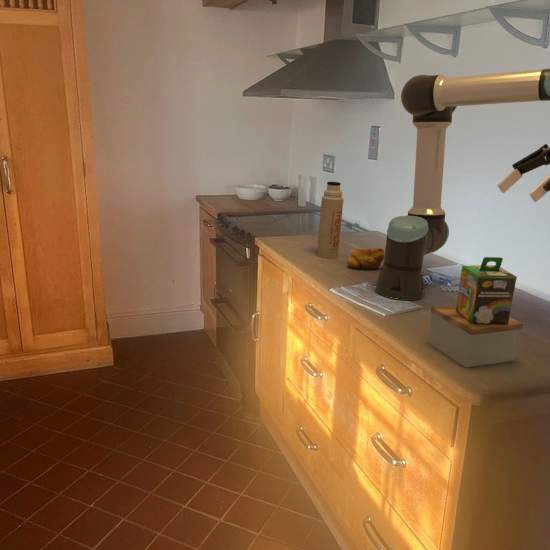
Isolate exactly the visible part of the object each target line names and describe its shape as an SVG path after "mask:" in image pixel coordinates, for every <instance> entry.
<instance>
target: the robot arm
mask: <svg viewBox="0 0 550 550" xmlns="http://www.w3.org/2000/svg"><path fill="white" fill-rule="evenodd" d="M400 101H401V105H402V106H403V108H404V110H405V111H406V112H407V113H409V114H410V115H411V116H412V125H413V126H414V128H416V148H415V167H414V182H413V203H412V207H410V208H409V209H408V211H407V215H403V216H402V215H399V216H396V217H395V216H394V217H393V218H392V219H391V220H390V221H389V223H388V227H387V230H386V242H385V247H384V248H385V250H384V260H383V267H382V269H381V270H380V272H379V274H378V277H377V280H376V281H375V284H374V291H375V292H376V293H377V294H378V295H380V294H381V295H380V296H382V295H383V297H385V296H387V297H386V298H388V297H392V298H398V299H404V300H403V301H417V300H420V299H423V298H424V297H425V289H426V288H425V282H424V278H423V273H422V272H423V271H422V269H423V263H424V257H425V256H426V255H428V254H431V253H435V252H437V251H438V250H440V249H441V248H442V247H444V246H445V244H446V243H447V241H448V239H449V235H450V228H449V225H448V223H447V222H446V211H445V210H444V209H443V208H442V194H443V193H442V192H443V179H444V162H445V149H446V134H447V129H448V128H449V127H450V126H451V125H452V123H453V113H454V112H455V111H456V109H457V107H464V106H465V107H466V106H479V105H481V106H482V105H483V106H484V105H496V104H499V105H500V104H512V103H527V102H528V103H529V102H541V101H542V102H549V101H550V68H546V69H544V68H541V69H532V70H531V69H530V70H521V71H518V70H517V71H507V72H499V73H488V74H487V73H486V74H479V75H478V74H475V75H467V76H465V75H464V76H455V77H446V76H445V75H444V74H436V75H435V74H434V75H433V74H431V75H430V74H429V75H427V74H418V75H415V76H412V77H411V78H409V80H407V82H405V84H404V86H403V87H402V90H401V93H400ZM549 165H550V146H549V145H548V144H547V143H545V144H543V145H542V146H541V147H539V148H538V149H536V150H535V151H533V152H531V153H530V154H528V155H526V156H525V157H523V158H521V159H520V160H518V161H516V162H515V163H513V164H512V165H511V167H512V168H513V169H514V170H512V171H511V173H509V174H508V175H507V176H506V177H505V178H504V179H502V180H501V182H499V183H498V184H497V188H499V190H500V192H501V193H502V194H505V193H506V192H507V191H508V190H510V188H511V187H513V186H514V185H515V184H516V183H517V182H518V181H519V180H520V179H521V178H523V175H524V174H526V173H529V172H531V171H533V170H535V169H538V168H540V167H542V166H549ZM549 192H550V175H548V176H547V177H546V178H545V179H543V181H542V182H540V183H539V184H538V185H537V186H536V187H535V188H534V189H532V191H530V192H529V196H530V197H531V199H532V200H533V202H535V203H537V202H538V201H539V200H540V199H542V198H543V197H544V196H545V195H546V194H547V193H549ZM392 298H391V299H392ZM398 299H397V300H398Z"/></svg>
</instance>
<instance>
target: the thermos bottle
mask: <svg viewBox="0 0 550 550" xmlns="http://www.w3.org/2000/svg"><path fill="white" fill-rule="evenodd" d="M326 184H327V185H326V189H325V190H324V191H323V196H321V205H320V213H319V214H320V215H319V216H320V217H319V227H318V237H317V238H318V240H317V249H316V250H317V251H316V256H317V257H320V258H321V259H329V260H330V259H337V258H338V256H339V248H340V236H341V228H342V227H341V226H342V218H343V208H344V207H343V205H344V197H343V192H342V190H341V185H342V183H341V182H340V181H327V183H326Z"/></svg>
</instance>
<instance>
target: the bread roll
mask: <svg viewBox="0 0 550 550" xmlns="http://www.w3.org/2000/svg"><path fill="white" fill-rule="evenodd" d="M384 256H385V250H384V249H383V248H364V249H362V248H356V249H354V250H353V251H352V252H351V254H350V257H349V258H348V259H347V262H346V265H347V266H348V267H349V268H352V269H355V270H361V269H363V270H368V271H373V270H376V269H377V270H378V269H379V268H380V266H381V263H383V262H384Z"/></svg>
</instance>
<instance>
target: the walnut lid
mask: <svg viewBox="0 0 550 550" xmlns="http://www.w3.org/2000/svg"><path fill="white" fill-rule="evenodd" d="M456 306H457V304H456V305H446V306H445V305H444V306H434V307H430V311H431V314H432V313H434V314H436V315H437V316H439V317H441V318H443V319H445V320H447V321H448V322H450V323H452V324H454V325H456V326H458V327H459V328H461V329H463V330H465V331H467V332H469V333H470V334H481V333H490V332H498V331H507V330H516V329H520V330H522V329H523V328H524V323H523V322H520V321H518V320H517V319H515V318H512V317H510V316H509V322H508V324H507V325H506V324H471V323H470V322H469V321H468V320H467V319H466V318H464V317H463V316H462V315H461V314H460V313H458V312H457V311H456Z"/></svg>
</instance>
